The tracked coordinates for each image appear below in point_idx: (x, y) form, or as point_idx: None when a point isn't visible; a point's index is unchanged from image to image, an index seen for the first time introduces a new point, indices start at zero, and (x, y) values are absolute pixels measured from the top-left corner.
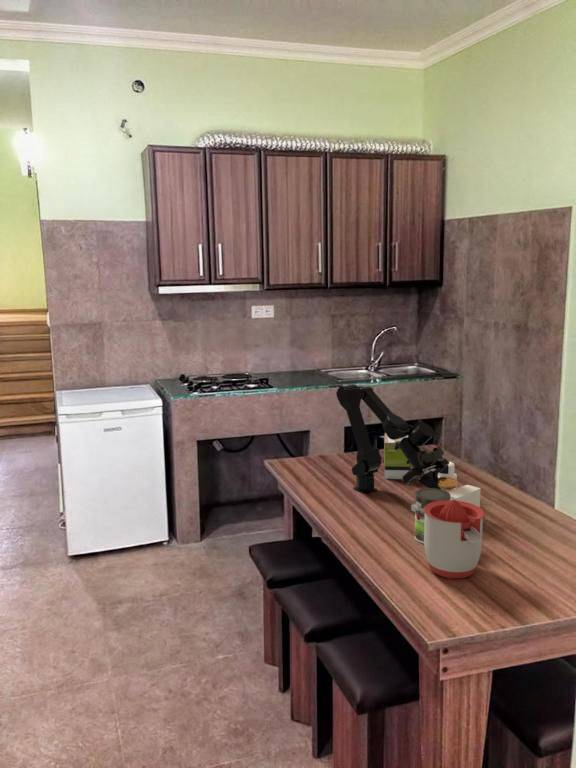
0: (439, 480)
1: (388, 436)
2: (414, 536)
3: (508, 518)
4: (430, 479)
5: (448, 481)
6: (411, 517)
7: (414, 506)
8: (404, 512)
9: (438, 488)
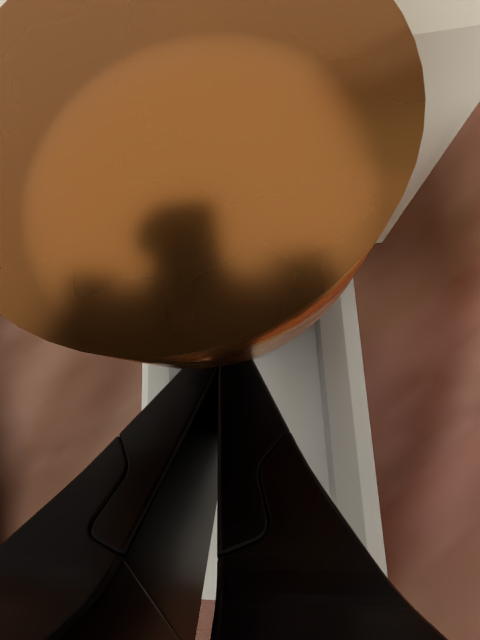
0: (371, 179)
1: None
2: None
3: None
4: (365, 554)
5: (243, 4)
6: (474, 474)
7: (384, 559)
8: (446, 594)
9: (243, 365)
